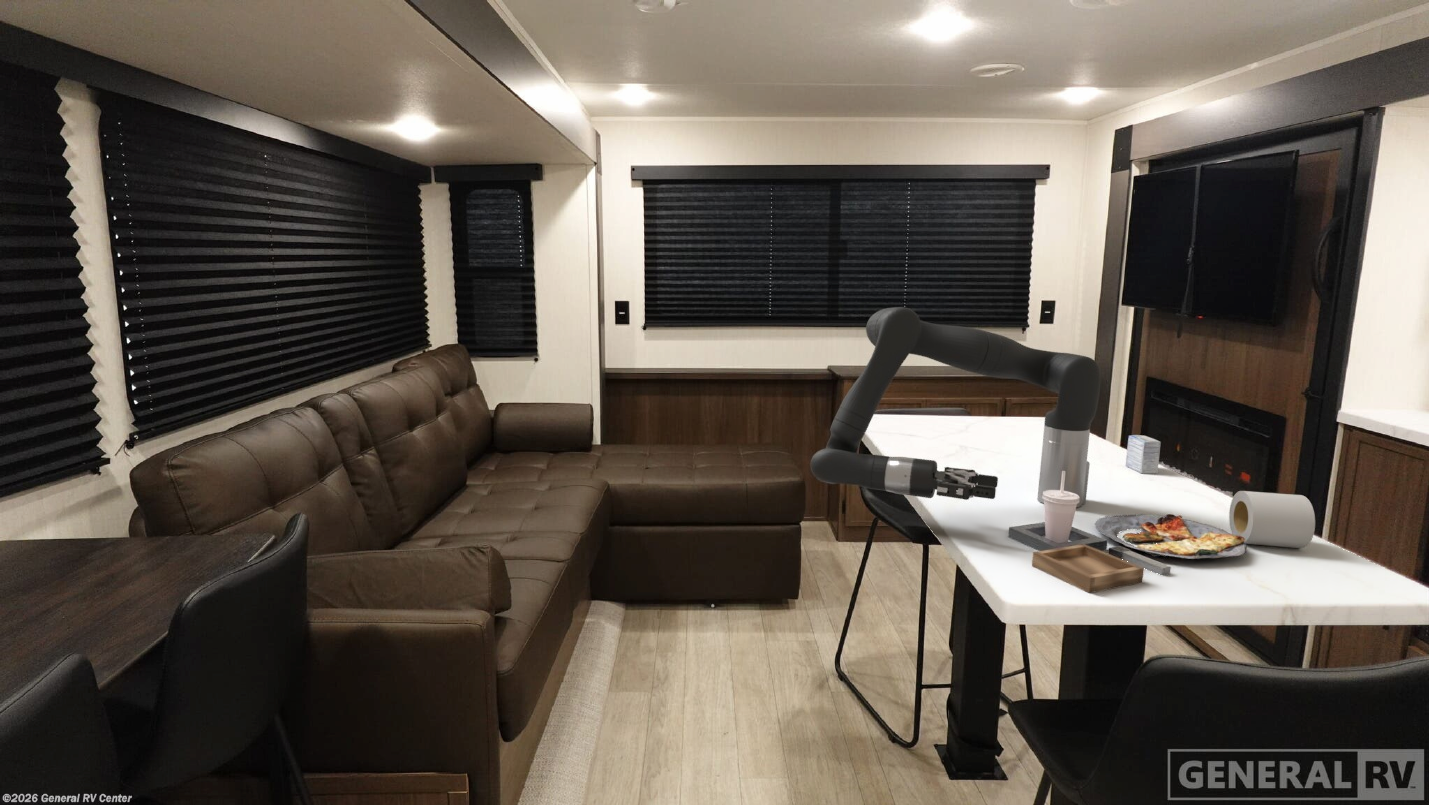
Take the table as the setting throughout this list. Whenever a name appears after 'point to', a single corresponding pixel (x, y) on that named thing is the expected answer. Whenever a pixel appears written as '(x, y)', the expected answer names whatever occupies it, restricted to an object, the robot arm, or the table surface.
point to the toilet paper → (1272, 519)
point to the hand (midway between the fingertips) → (996, 487)
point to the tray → (1087, 568)
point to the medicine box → (1143, 454)
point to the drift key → (1139, 560)
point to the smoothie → (1059, 512)
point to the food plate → (1172, 536)
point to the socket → (1034, 539)
